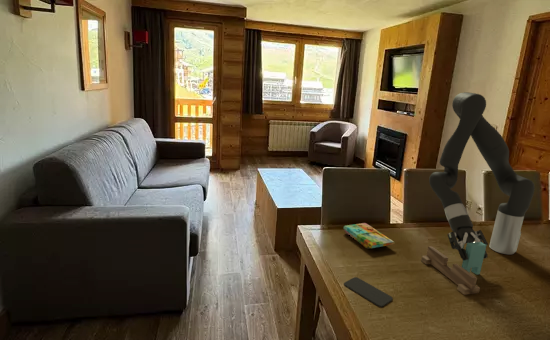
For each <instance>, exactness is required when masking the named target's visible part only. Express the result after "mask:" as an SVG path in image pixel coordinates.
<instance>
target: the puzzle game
mask: <svg viewBox="0 0 550 340" xmlns="http://www.w3.org/2000/svg"><path fill="white" fill-rule="evenodd" d="M343 230H344V232H345V234H346V235H348V236H349V235H350V236H349V237H351V238H352V239H353V238H354V240H355V241H356V242H358V243H359V244H360V245H361V246H363V247H364V248H365V249H375V248H380V247H385V246H390V245H391V246H392V245H395V241H393V240H392V239H391V238H389V237H388V236H386V235H385V234H383V233H382V232H380V231H378V230H377V229H376V228H374V227H373V226H371V225H369V224H368V223H366V222H362V223H356V224H349V225H348V224H347V225H344V226H343Z"/></svg>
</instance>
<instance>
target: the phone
mask: <svg viewBox="0 0 550 340" xmlns="http://www.w3.org/2000/svg"><path fill="white" fill-rule="evenodd" d="M343 285H344V287H345V288H347V289H349V290H351V291H352V292H354V293H356V294H357V295H359V296H361V297H362V298H364V300H366V301H368V302H369V303H372V304H373V305H374V306H377V307H379V308H384V307H385V306H387V305H388V304H390V303H391V302H392V301H393V299H394V297H392V296H391V295H389V294H388V293H386V292H384V291H383V290H380V289H379V288H377V287H375V286H374V285H372V284H370V283H368V282H367V281H365V280H363V279H362V278H359V277H356V276H355V277H352V278H349V280H347V281H345V282H344V283H343Z"/></svg>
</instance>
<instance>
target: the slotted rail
mask: <svg viewBox="0 0 550 340" xmlns="http://www.w3.org/2000/svg"><path fill="white" fill-rule="evenodd" d="M426 252H427V253H426V255H421V259H420V261H421V262H422V263H424V265H426V266H427V265H431V266H433V267H434V268H435V269H436V270H437V271H438V272H440V273H441V274H442V275H444V276H446V277H447V278H449V280H451V282H453V283H454V284H455V285H457V288H456V290H458V292H460V293H461V294H463V295H464V296H465V295H471V294H472V295H474V294H479V293H480V290H481V288H480V286H479V285H477V280H478V278H477V277H476V276H475V275H473V274H472V273H471V272H470V273H469V272H468V271H467V270H465V269H464V268H462V265H459V264H458V263H452V266H451V267H450V266H449V265H448V264H449V263H448V262H449V257H448V256H447V255H445V254H444V253H442V252H441V251H439V250H438V249H437V248H435V247H433V245H432V246H431V245H430V246H429V245H428V247H427V251H426Z"/></svg>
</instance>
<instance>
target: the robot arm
mask: <svg viewBox="0 0 550 340" xmlns="http://www.w3.org/2000/svg"><path fill="white" fill-rule="evenodd" d="M451 105H452V110H453V112H454V113H455V115H456V116H457V117H458V119H459V121H458V124H457V127H456V128H455V130H454V132H453V133H452V135H451V136H450V138H448V140H447V141H446V144H444V147H443V150H442V152H441V156H440V159H439V165H440V166H442V167H444V169H443V172H442V171H434V172H432V173H431V174H430V175H429V179H428V180H429V181H428V182H429V186H430V188H431V190H432V191H433V192H434V193H435V195H436V196H437V198H438V199H439V200H440V202H441V205H442V207H443V210H444V213H445V216H446V220H447V221H448V224H449V227H450V229H451V231H450V232H449V233H447V237H448V240H449V243H450V246H451V249H452V250H457V251H458V254H459V257H460V258H461V259H462V261H463V260H467V259H468V256H467V253H466V251H465V250H466V248H465V244H466V245H467V243H475V242H482V243H484V244H486V245H487V246H489V248H490V249H491V250H492V251H495V252H496V253H499V254H504V255H514V254H515V253H516V252H518V251H517V249H518V246H519V243H520V238H521V234H522V231H521V229H522V226H523V221H524V219H525V214H526V212H527V211H528V210H529V208H530V206H531V203H532V200H533V196H534V193H535V183H534V182H533V181H532V180H531V179H529V178H526V177H523V176H521V175H519V174H517V173H516V172H515V170H514V169H513V167H512V166H511V164H510V162H509V160H510V149H509V147H508V145H507V143H506V141H505V139H504V137H503V136H502V134H501V133H500V132H499V131H498V130H497V129H496V128H495V127H494V126H493V125H492V124H490V122H489V121H488V120H487V119H486V118H485V117H484V116H483V114H484V112H485V110H486V108H487V100H486V98H485V97H484V95H482V94H479V93H475V92H465V91H464V92H460V93H458V94H456V95H455V96H454V98H453V100H452V102H451ZM470 138H472V140H473V142H474V143H475V145H476V147H477V150H478V151H479V152H480V155H481V157H483V159H484V161H485V163H486V164H487V166H488V167H489V169H490V170H491V171H492V174H493V175H494V178H495V181H496V182H497V186H498V187H499V190H500V191H501V192H502V194H504V195H506V196H508V197H509V198H508V201H507V202H502V203H499V205H498V208H497V213H496V216H495V220H494V225H493V229H492V233H491V237H490V242H489V243H488V241H487V239H486V237H485V235H484V233H483V230H481V229H480V230H477V231H475V230H474V228H473V227H474V224H473V222H472V220H471V217H470V216H469V213H468V210H467V208H466V207H465V205H464V204H463V200H462V199H461V196H460V194H459V193H458V192H457V191H454V190H452V189H453V188H454V187H455V186H456V184H457V182H458V175H459V164H460V162H461V160H462V157H463V153H464V150H465V148H466V145H467V143H468V141H469V139H470ZM487 258H488V253H487V249H486V250H485V254H484V258H483V260H485V259H487Z"/></svg>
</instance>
